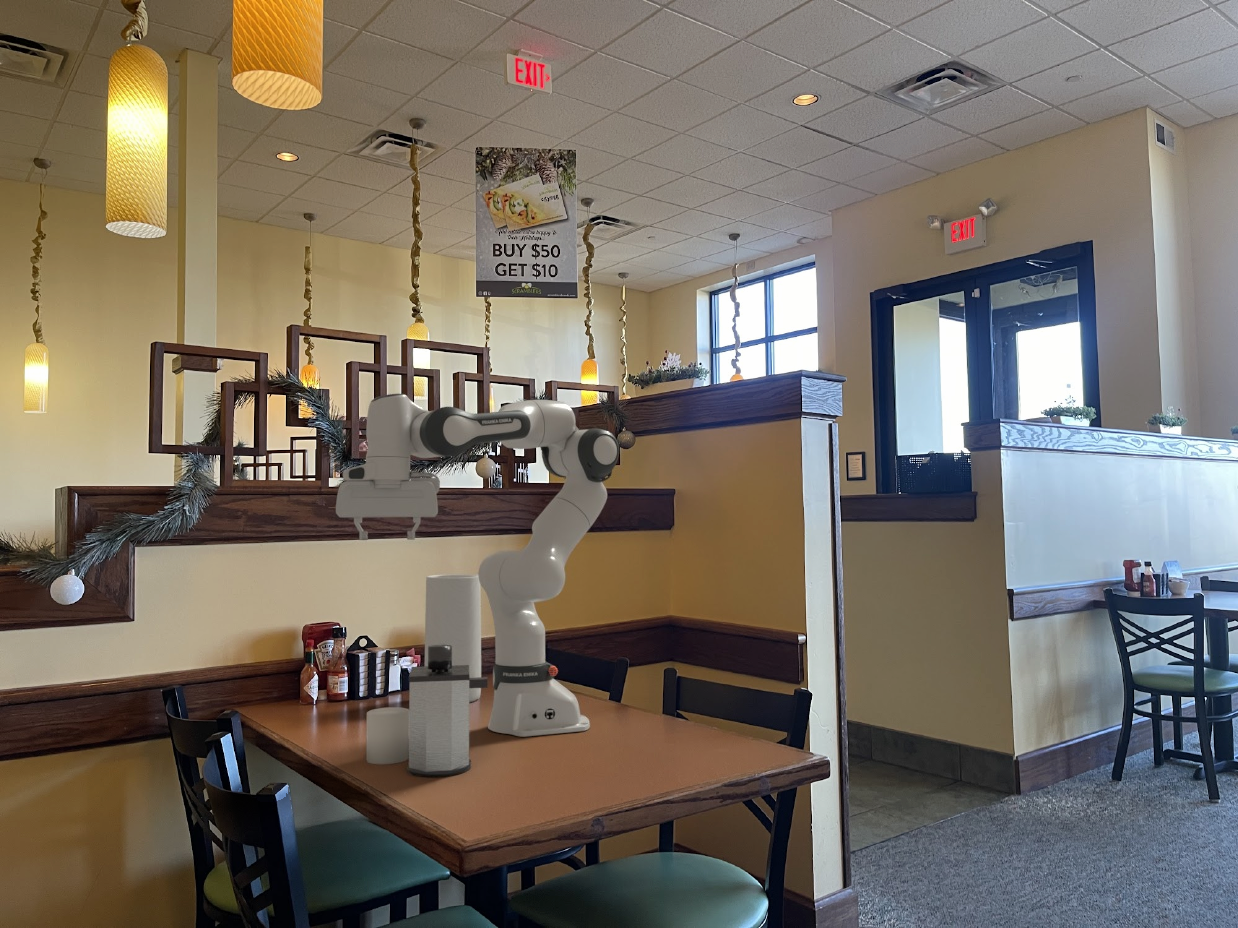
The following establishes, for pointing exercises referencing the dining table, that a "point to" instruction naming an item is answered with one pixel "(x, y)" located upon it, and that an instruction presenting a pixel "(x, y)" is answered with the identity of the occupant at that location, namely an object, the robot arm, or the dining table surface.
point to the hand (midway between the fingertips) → (387, 539)
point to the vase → (455, 620)
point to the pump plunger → (439, 657)
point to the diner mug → (387, 735)
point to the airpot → (440, 720)
